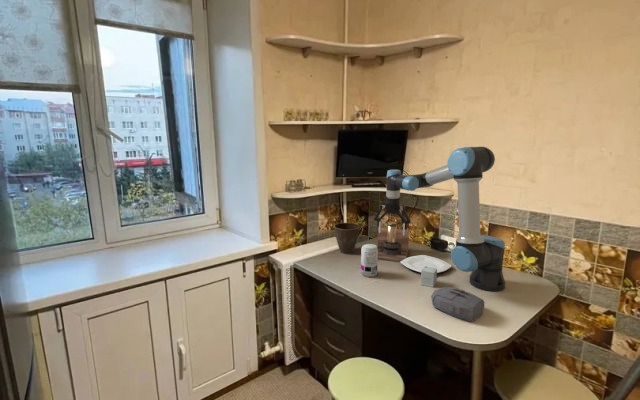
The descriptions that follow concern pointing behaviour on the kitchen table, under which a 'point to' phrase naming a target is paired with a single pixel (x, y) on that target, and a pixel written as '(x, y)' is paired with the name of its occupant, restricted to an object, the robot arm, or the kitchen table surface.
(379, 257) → the transparent box
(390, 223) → the clear glass cylinder
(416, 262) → the plate
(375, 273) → the supplement can
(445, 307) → the soft grey pack
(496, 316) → the kitchen table surface
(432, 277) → the skincare box
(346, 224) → the plant pot
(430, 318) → the kitchen table surface
